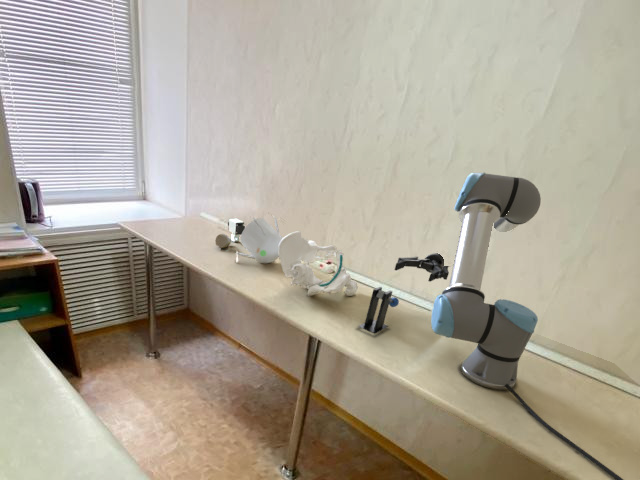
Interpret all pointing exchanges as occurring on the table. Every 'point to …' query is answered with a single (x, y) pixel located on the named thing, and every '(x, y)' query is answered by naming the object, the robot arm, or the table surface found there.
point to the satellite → (261, 240)
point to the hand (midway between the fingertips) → (412, 272)
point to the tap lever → (393, 300)
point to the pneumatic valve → (236, 228)
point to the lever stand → (370, 322)
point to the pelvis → (302, 249)
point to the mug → (222, 240)
